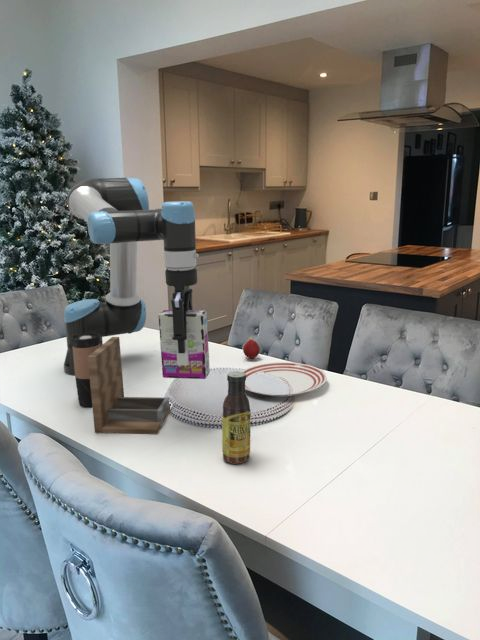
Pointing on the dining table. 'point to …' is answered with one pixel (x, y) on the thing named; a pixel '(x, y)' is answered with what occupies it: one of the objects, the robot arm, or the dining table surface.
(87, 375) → the travel mug
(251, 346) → the red rounded piece
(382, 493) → the dining table surface
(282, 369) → the dinner plate
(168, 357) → the candy bar box
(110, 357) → the brown wooden l-shaped stand
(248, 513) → the dining table surface
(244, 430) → the sauce bottle
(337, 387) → the dining table surface
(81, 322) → the robot arm
